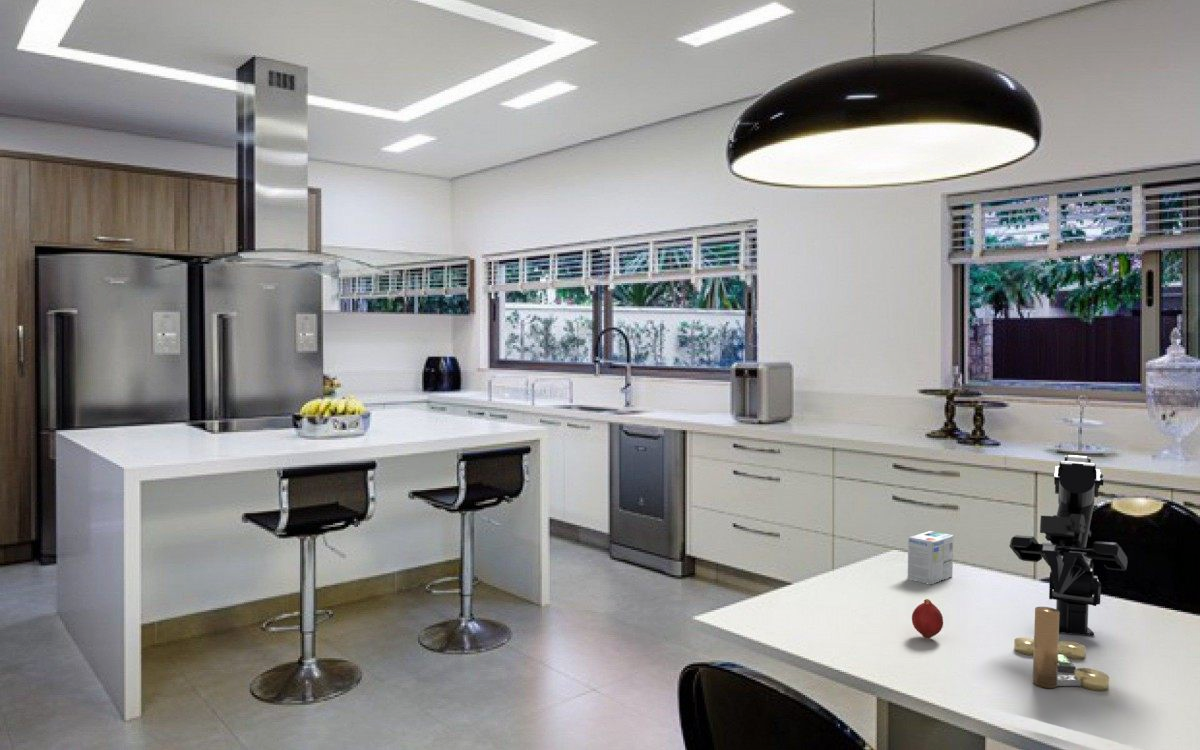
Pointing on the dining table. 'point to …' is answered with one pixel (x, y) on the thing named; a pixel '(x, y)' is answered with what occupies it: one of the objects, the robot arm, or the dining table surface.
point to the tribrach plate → (1064, 652)
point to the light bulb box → (930, 557)
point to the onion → (927, 619)
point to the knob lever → (1048, 657)
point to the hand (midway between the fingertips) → (1058, 593)
